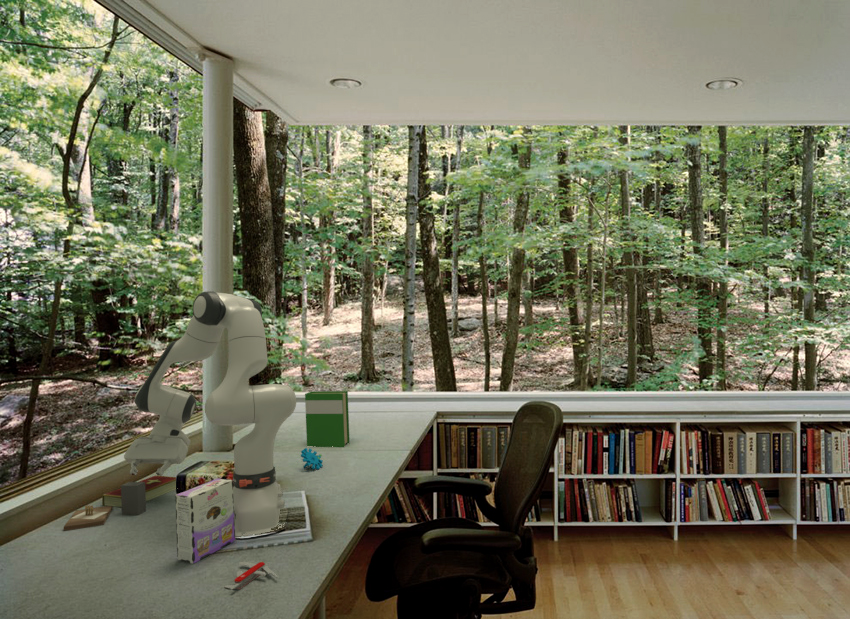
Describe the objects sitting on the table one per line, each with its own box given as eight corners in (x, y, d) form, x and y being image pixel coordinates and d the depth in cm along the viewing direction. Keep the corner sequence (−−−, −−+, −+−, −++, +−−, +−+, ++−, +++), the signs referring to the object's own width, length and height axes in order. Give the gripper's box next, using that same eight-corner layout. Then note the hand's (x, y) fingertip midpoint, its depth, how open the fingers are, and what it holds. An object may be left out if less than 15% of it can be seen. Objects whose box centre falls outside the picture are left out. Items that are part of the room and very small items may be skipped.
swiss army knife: (255, 600, 113) (255, 590, 113) (204, 589, 118) (204, 580, 118) (288, 574, 123) (288, 565, 123) (240, 565, 128) (240, 557, 128)
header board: (103, 524, 157) (103, 510, 157) (63, 530, 154) (63, 516, 154) (112, 508, 170) (112, 496, 171) (76, 514, 167) (75, 501, 167)
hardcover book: (102, 506, 174) (101, 493, 175) (155, 486, 194) (154, 474, 194) (129, 510, 170) (129, 496, 170) (180, 488, 190) (180, 476, 190)
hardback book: (349, 443, 246) (347, 391, 246) (344, 447, 239) (342, 393, 239) (313, 442, 249) (311, 391, 249) (307, 446, 242) (305, 393, 242)
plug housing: (146, 510, 168) (145, 482, 168) (138, 515, 164) (137, 485, 164) (130, 510, 169) (129, 481, 169) (121, 514, 165) (120, 485, 165)
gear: (311, 468, 201) (298, 448, 205) (302, 479, 202) (289, 458, 207) (329, 465, 211) (316, 445, 215) (320, 474, 212) (307, 455, 216)
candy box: (219, 538, 145) (217, 477, 145) (236, 541, 142) (233, 479, 142) (176, 560, 132) (174, 493, 132) (193, 564, 130) (191, 496, 130)
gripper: (131, 431, 181) (111, 469, 172) (186, 431, 178) (169, 470, 168) (141, 441, 186) (122, 478, 176) (195, 441, 182) (178, 479, 173)
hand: (145, 474), depth 172 cm, fingers open, 8 cm apart
